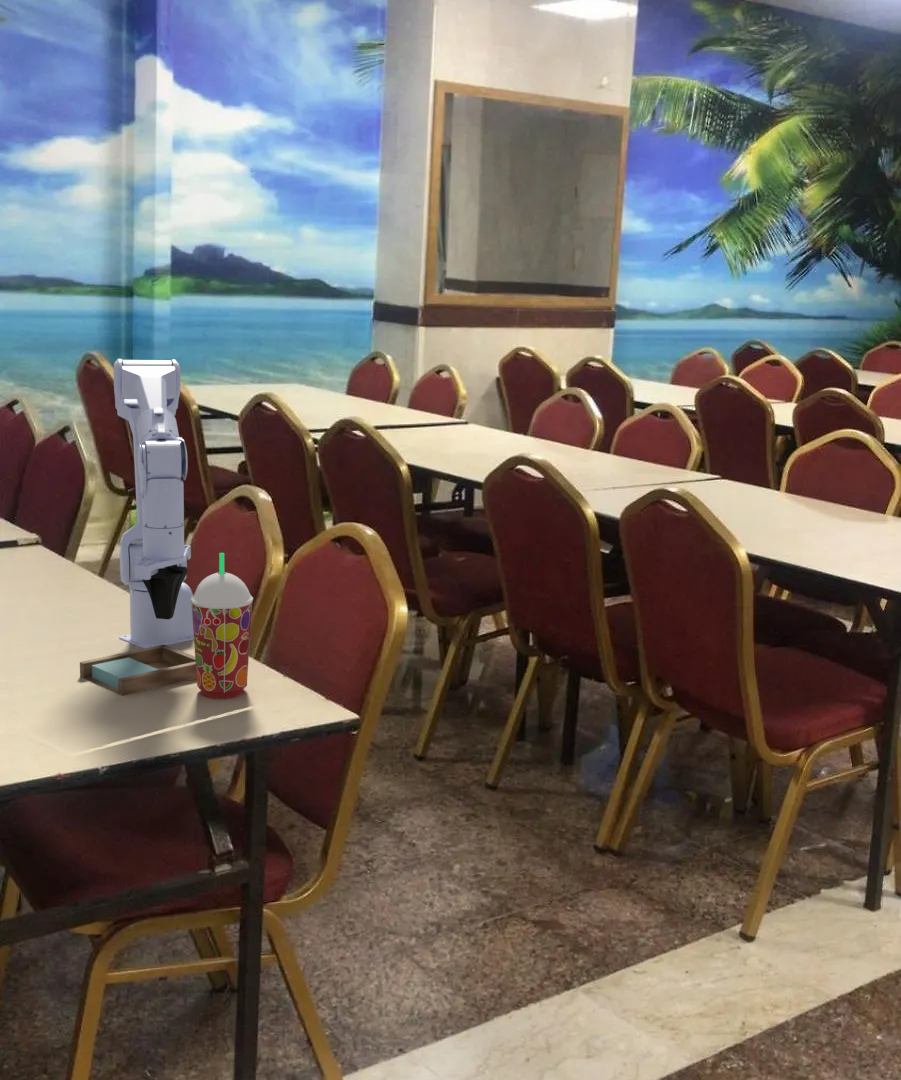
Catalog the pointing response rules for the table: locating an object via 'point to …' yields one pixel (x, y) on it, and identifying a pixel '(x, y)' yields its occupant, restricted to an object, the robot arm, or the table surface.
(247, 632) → the smoothie
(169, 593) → the robot arm
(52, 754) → the table surface
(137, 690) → the walnut box
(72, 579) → the table surface
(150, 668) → the cover plate
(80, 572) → the table surface
